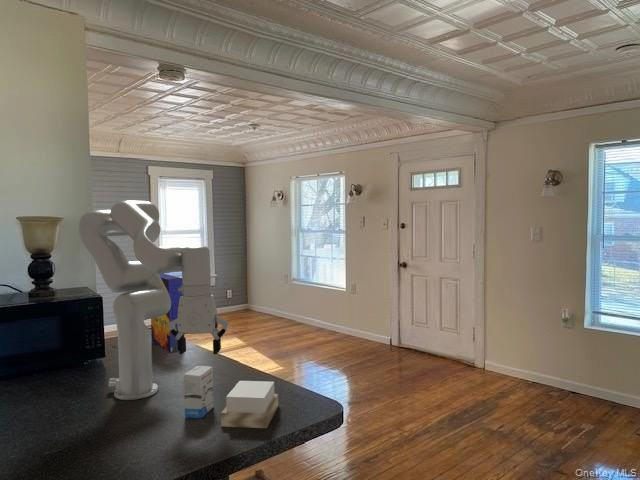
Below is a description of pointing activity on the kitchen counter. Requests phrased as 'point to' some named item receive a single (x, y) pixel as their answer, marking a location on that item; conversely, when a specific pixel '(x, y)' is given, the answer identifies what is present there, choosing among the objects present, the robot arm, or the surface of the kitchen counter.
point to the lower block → (250, 417)
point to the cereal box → (167, 316)
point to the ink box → (198, 391)
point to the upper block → (250, 397)
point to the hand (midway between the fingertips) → (199, 353)
